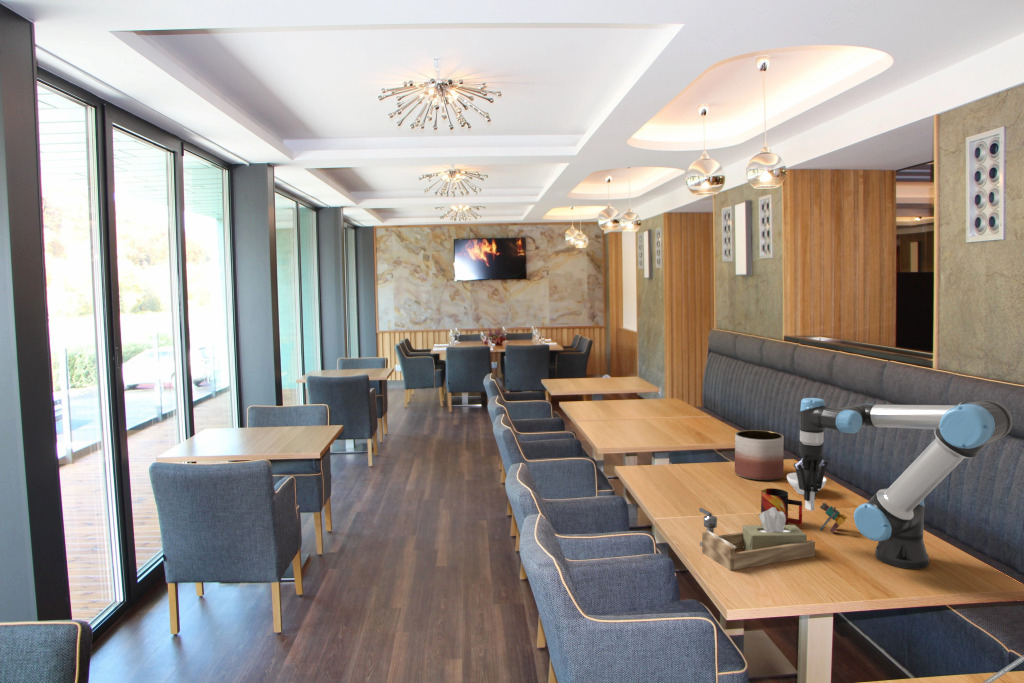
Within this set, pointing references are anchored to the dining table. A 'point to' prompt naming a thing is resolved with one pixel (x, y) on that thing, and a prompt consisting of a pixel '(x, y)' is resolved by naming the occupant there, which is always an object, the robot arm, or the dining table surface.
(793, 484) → the bowl
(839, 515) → the binoculars
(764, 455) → the planter
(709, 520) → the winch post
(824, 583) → the dining table surface
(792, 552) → the bay
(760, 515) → the tissue box
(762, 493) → the mug
